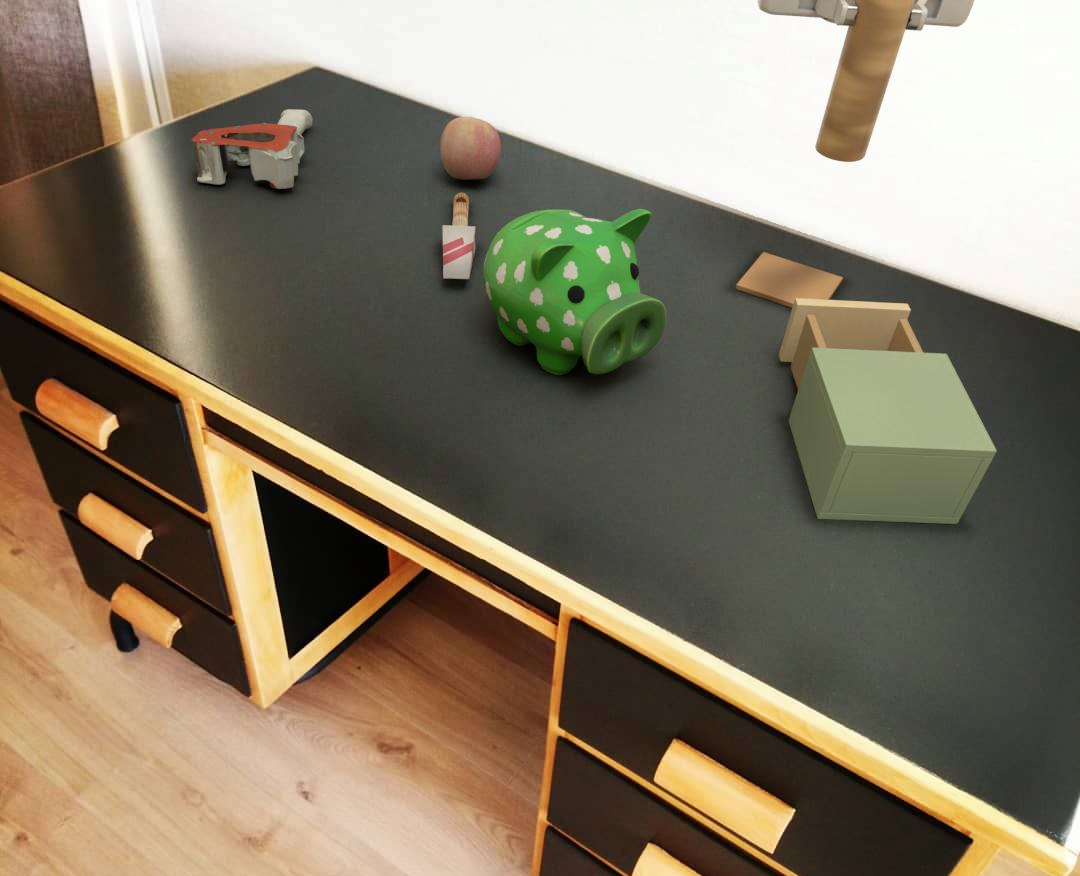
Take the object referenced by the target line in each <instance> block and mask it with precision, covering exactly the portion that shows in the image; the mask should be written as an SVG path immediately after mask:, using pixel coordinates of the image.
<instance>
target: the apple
mask: <svg viewBox="0 0 1080 876" xmlns="http://www.w3.org/2000/svg"><path fill="white" fill-rule="evenodd" d="M501 145H502V144H501V139H500V135H499V133H498V131H497V129H496V128H495V127H494V125H492V124H491V123H490V122H488V121H485V120H483V119H480V118H476V117H473V116H460V117H456V118H455V117H454V118H453V119H452V120H450V121H449V122H448V123H447V124H446V126H445V127H444V130H443V132H442V134H441V137H440V144H439V153H440V154H439V155H440V158H441V162H442V165H443V167H444V169H445V171H446V172H447V174H449V175H450V176H451V177H452V178H454V179H456V180H462V181H463V180H465V181H472V180H485V179H487V178H489V177H490V176H491V175H492V174H493V173H494V171H495V169H496V168H497V166H498V163H499V160H500V157H501V151H502V149H501V148H502V146H501Z"/></svg>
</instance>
